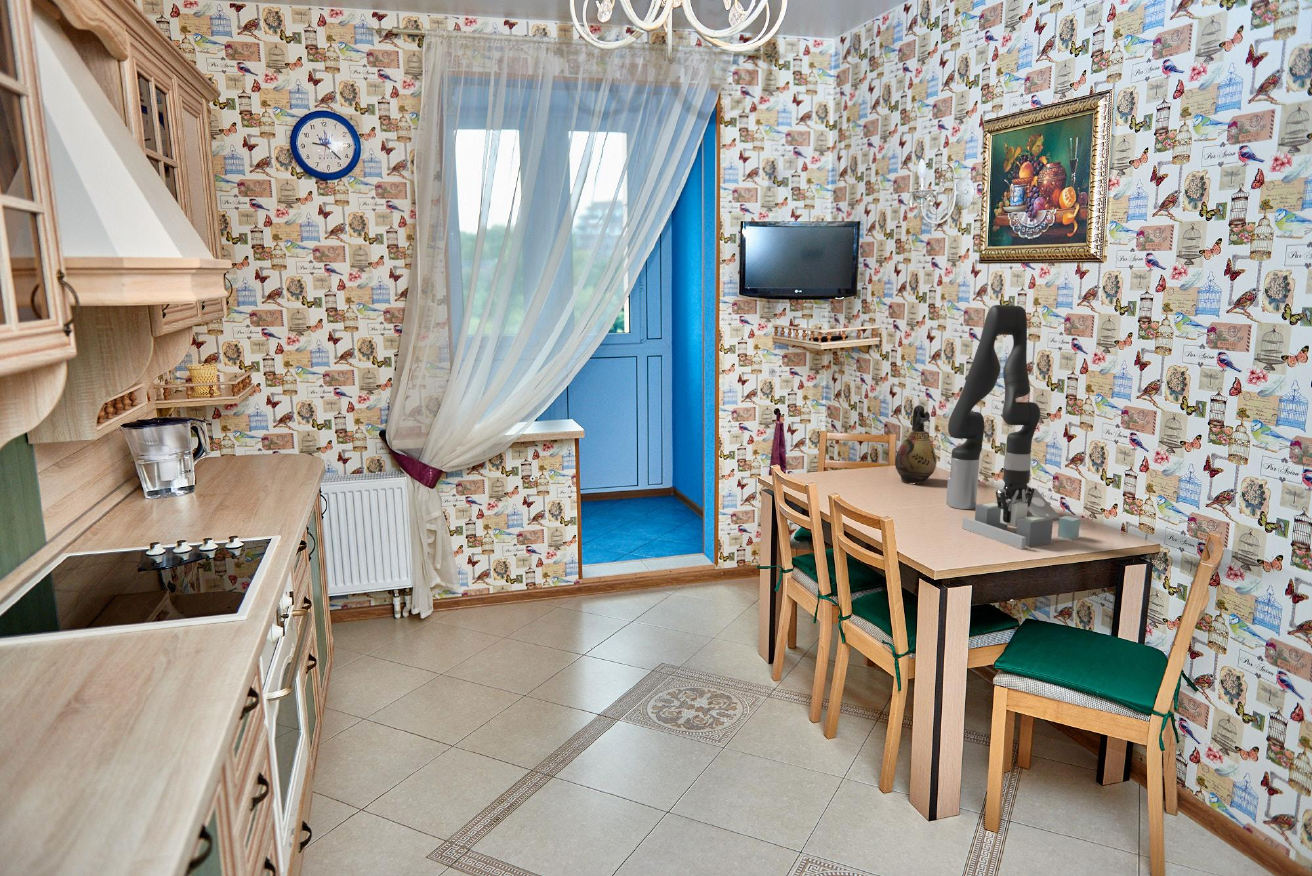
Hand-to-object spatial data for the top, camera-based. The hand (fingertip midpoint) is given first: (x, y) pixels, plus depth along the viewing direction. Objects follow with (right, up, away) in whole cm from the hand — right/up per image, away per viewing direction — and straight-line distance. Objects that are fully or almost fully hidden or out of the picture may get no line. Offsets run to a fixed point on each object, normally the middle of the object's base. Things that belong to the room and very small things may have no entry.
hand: (1012, 521), depth 271 cm
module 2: (+17, -5, 0) cm, 18 cm away
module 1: (0, -1, 0) cm, 1 cm away
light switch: (+18, -1, +25) cm, 31 cm away
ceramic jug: (-9, +8, +75) cm, 76 cm away
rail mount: (-2, -5, 0) cm, 5 cm away
